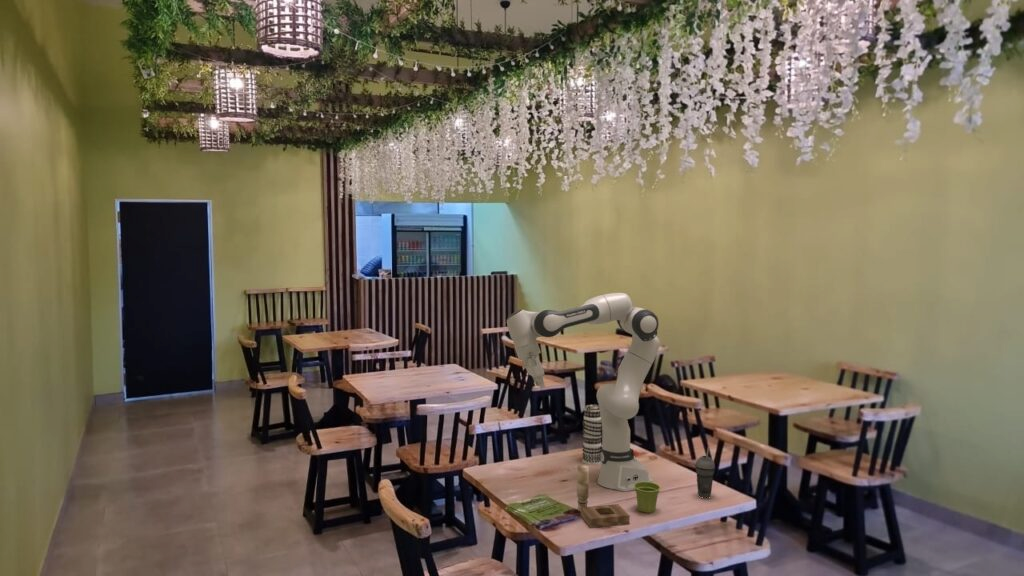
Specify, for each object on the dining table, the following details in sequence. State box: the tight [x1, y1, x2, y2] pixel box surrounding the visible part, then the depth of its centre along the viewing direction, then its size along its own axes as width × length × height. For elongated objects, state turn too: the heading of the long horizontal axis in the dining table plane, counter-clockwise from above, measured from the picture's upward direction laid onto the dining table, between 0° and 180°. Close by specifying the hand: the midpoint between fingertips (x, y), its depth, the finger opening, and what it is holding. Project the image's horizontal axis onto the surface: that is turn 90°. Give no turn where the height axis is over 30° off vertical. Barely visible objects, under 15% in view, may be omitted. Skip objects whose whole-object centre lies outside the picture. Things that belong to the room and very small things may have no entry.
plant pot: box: [634, 482, 661, 514], centre depth 229 cm, size 9×9×9 cm
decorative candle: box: [581, 404, 602, 465], centre depth 281 cm, size 9×9×25 cm
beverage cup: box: [694, 445, 716, 499], centre depth 242 cm, size 7×7×20 cm
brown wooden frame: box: [580, 503, 631, 529], centre depth 221 cm, size 14×10×3 cm
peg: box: [576, 464, 590, 513], centre depth 228 cm, size 4×4×16 cm
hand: (540, 386), depth 242 cm, fingers open, 8 cm apart
